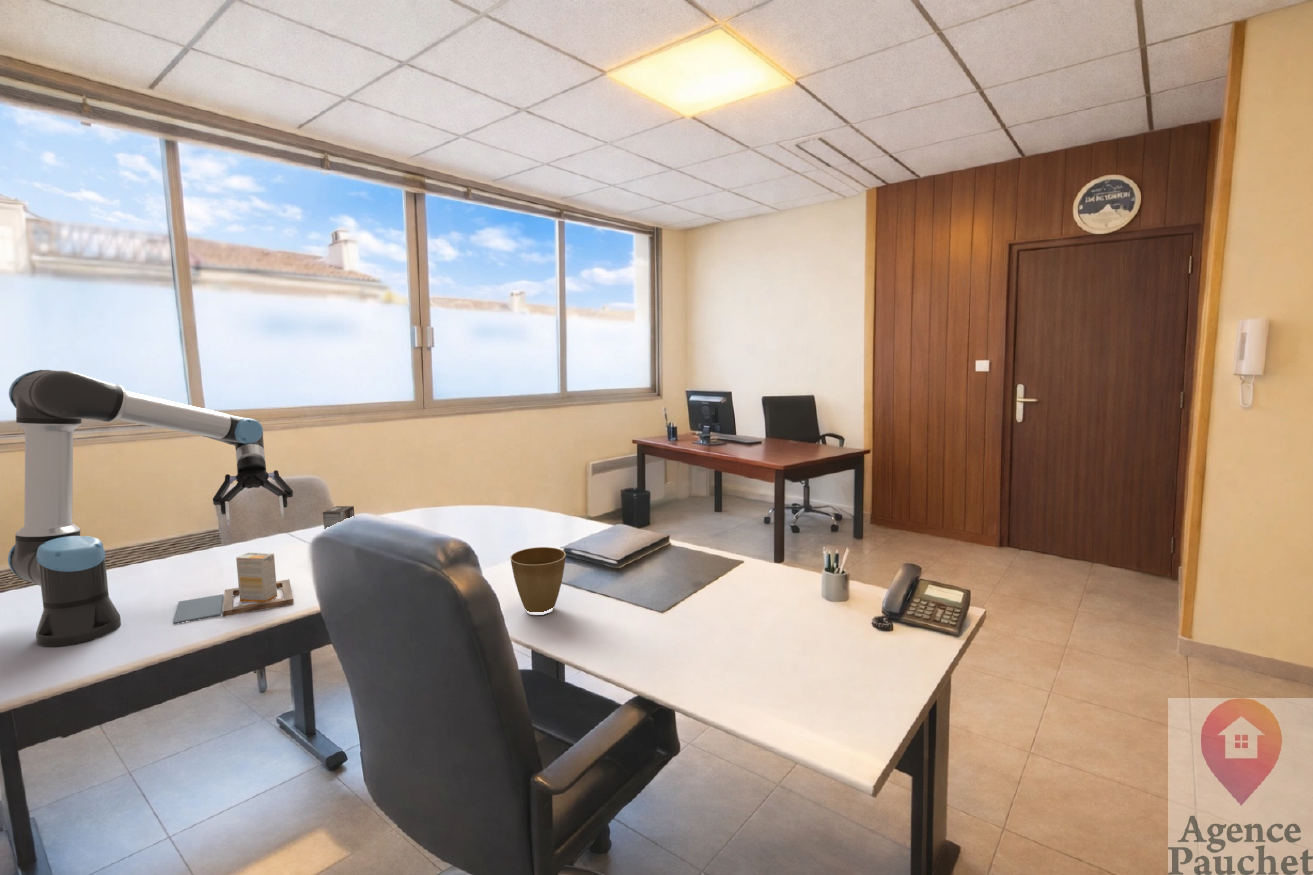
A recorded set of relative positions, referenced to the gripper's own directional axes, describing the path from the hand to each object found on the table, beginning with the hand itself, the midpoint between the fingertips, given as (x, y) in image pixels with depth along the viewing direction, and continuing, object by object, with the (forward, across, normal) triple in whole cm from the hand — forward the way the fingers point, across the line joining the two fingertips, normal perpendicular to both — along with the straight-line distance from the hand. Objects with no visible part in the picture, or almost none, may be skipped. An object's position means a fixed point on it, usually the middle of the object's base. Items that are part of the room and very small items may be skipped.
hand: (256, 519), depth 179 cm
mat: (+23, +14, -6) cm, 28 cm away
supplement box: (+23, +1, -6) cm, 24 cm away
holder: (+23, +1, -6) cm, 24 cm away
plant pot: (+59, -63, +30) cm, 91 cm away
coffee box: (0, -24, -30) cm, 39 cm away
